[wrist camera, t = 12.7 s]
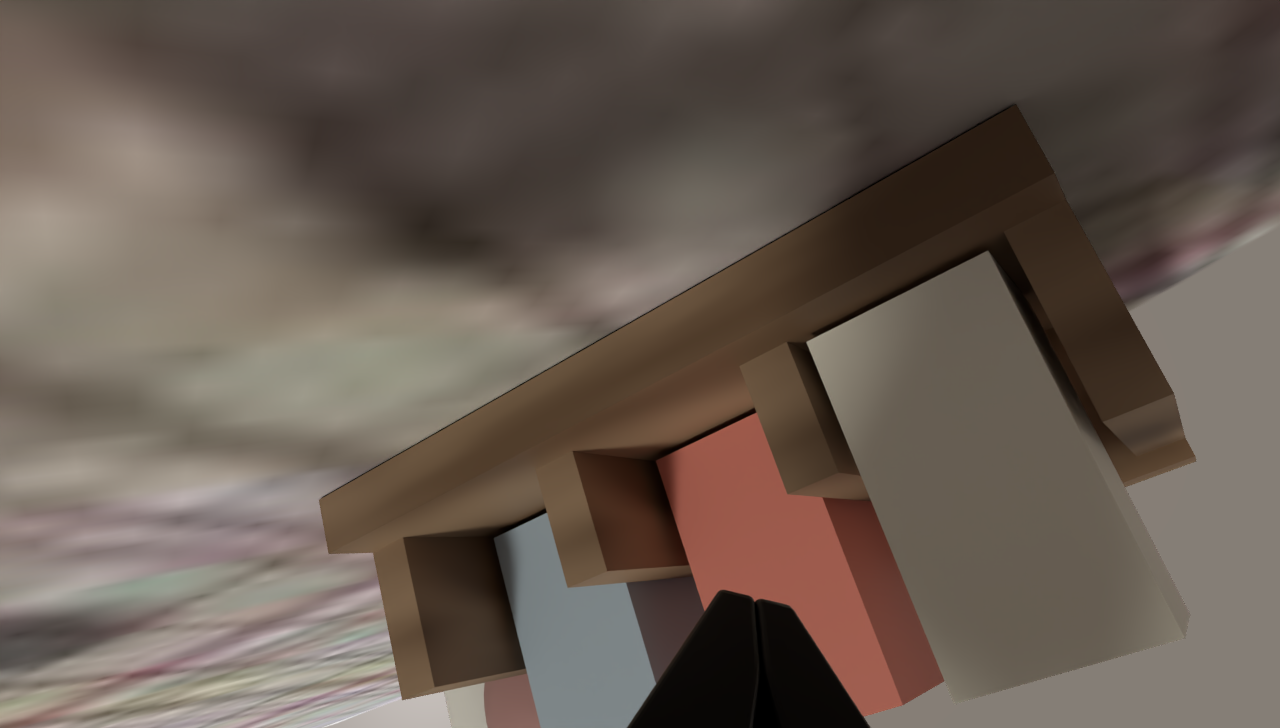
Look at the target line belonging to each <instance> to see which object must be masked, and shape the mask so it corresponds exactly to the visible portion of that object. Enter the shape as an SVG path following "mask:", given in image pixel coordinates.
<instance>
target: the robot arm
mask: <svg viewBox="0 0 1280 728" xmlns="http://www.w3.org/2000/svg"><path fill="white" fill-rule="evenodd" d="M627 728H870V726H869V725H868V723H867V722H866V720H865V718H864V717H863V715H862V714H861V712H860V711H859V709H858V708H857V706H856V705H855V703H854V702H853V700H852V698H851V697H850V695H849V694H848V692H847V691H846V689H845V688H844V686H843V685H842V683H841V682H840V680H839V679H838V677H837V675H836V674H835V672H834V671H833V669H832V668H831V666H830V665H829V663H828V662H827V660H826V659H825V657H824V655H823V654H822V652H821V651H820V649H819V648H818V646H817V645H816V643H815V642H814V640H813V639H812V637H811V635H810V634H809V632H808V631H807V629H806V628H805V626H804V625H803V623H802V622H801V620H800V619H799V617H798V615H797V614H796V612H795V611H794V610H793V609H792V608H791V607H790V606H789V605H787V604H782V603H778V602H774V601H770V600H766V599H758V600H756V601H755V602H754V599H753V598H752V597H751V596H749V595H745V594H741V593H736V592H732V591H728V590H720V591H718V592H717V594H716V595H715V597H714V598H713V600H712V601H711V603H710V604H709V606H708V607H707V609H706V610H705V612H704V613H703V615H702V616H701V618H700V619H699V621H698V622H697V624H696V625H695V626H694V628H693V629H692V631H691V632H690V634H689V635H688V637H687V638H686V640H685V641H684V643H683V644H682V646H681V647H680V649H679V650H678V652H677V653H676V655H675V656H674V658H673V659H672V661H671V662H670V664H669V665H668V667H667V668H666V670H665V671H664V673H663V674H662V676H661V677H660V679H659V680H658V682H657V683H656V685H655V686H654V688H653V689H652V691H651V692H650V694H649V695H648V697H647V698H646V700H645V701H644V703H643V704H642V706H641V707H640V709H639V710H638V712H637V713H636V715H635V716H634V718H633V719H632V721H631V722H630V724H629V725H628V727H627Z"/></svg>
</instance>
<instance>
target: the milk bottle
mask: <svg viewBox="0 0 1280 728" xmlns="http://www.w3.org/2000/svg"><path fill="white" fill-rule="evenodd" d="M484 684H485V683H481V684H476V685H471V686H467V687H462V688H457V689H453V690H448V691H444V694H445V699H446V703H447V708H448V713H449V718H450V722H451V726H452V728H488V727H487V723H486V716H485V709H484Z"/></svg>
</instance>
